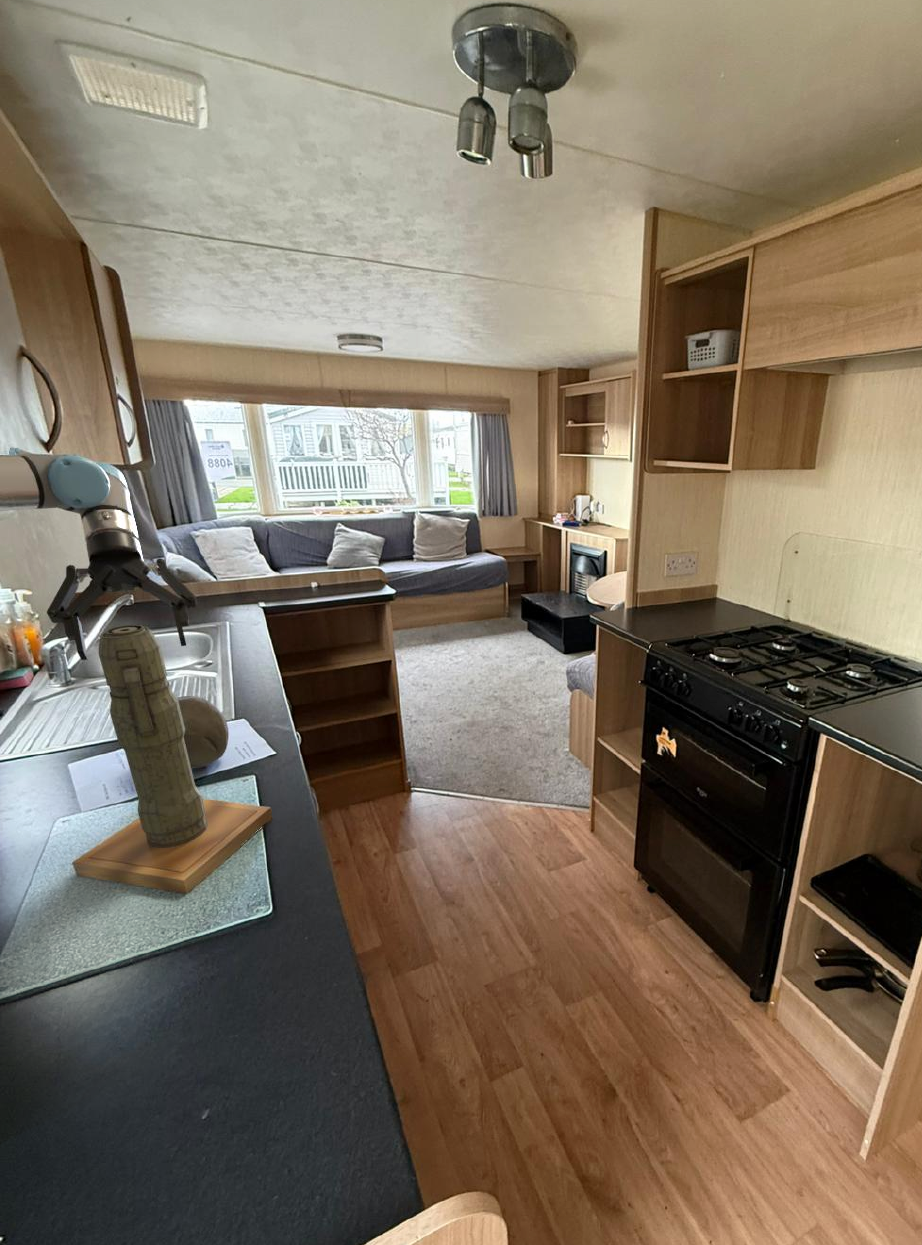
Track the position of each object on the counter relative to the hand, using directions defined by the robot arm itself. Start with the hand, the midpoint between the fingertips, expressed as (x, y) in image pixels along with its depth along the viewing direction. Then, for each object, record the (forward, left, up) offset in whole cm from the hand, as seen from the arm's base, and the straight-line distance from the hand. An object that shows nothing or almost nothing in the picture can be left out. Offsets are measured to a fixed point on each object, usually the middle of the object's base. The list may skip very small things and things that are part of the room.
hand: (134, 648), depth 99 cm
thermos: (+7, -7, -29) cm, 31 cm away
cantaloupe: (-10, +17, -32) cm, 37 cm away
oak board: (+8, -7, -32) cm, 33 cm away
